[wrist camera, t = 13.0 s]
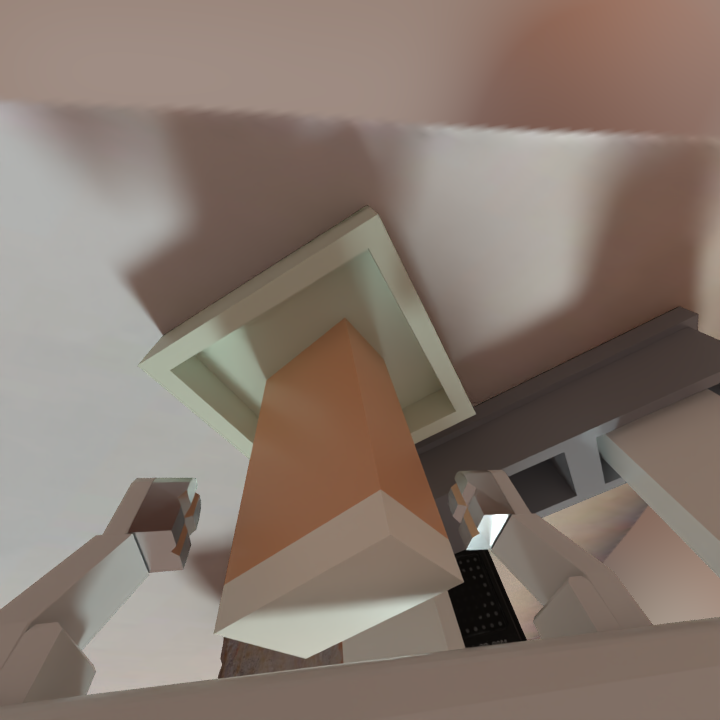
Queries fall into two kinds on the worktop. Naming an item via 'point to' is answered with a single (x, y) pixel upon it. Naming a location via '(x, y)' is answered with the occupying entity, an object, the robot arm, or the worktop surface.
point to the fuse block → (584, 453)
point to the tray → (311, 334)
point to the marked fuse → (332, 507)
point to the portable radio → (483, 603)
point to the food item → (269, 659)
